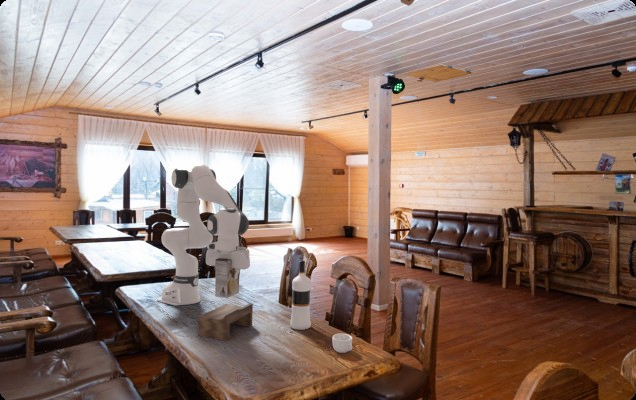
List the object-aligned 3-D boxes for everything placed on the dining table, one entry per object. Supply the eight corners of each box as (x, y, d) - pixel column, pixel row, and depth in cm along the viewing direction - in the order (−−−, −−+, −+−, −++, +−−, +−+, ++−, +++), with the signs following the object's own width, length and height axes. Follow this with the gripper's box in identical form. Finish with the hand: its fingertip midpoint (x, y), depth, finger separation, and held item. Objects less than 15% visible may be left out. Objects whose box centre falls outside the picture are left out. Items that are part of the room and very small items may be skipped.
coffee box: (226, 291, 186) (227, 255, 186) (239, 293, 184) (239, 256, 183) (214, 296, 178) (215, 258, 177) (227, 298, 175) (228, 260, 175)
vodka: (286, 324, 191) (288, 259, 189) (305, 322, 195) (307, 258, 193) (294, 331, 182) (296, 263, 181) (314, 329, 186) (316, 261, 185)
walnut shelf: (198, 335, 175) (198, 311, 174) (225, 321, 193) (225, 299, 193) (227, 341, 170) (227, 316, 169) (252, 325, 188) (252, 303, 188)
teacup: (328, 349, 165) (328, 335, 164) (343, 345, 169) (344, 332, 169) (343, 358, 156) (343, 344, 156) (359, 354, 160) (360, 340, 160)
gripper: (253, 246, 179) (252, 278, 180) (212, 242, 186) (212, 273, 187) (245, 248, 173) (244, 281, 174) (203, 244, 181) (203, 276, 181)
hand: (227, 277), depth 181 cm, fingers closed on coffee box, 6 cm apart
